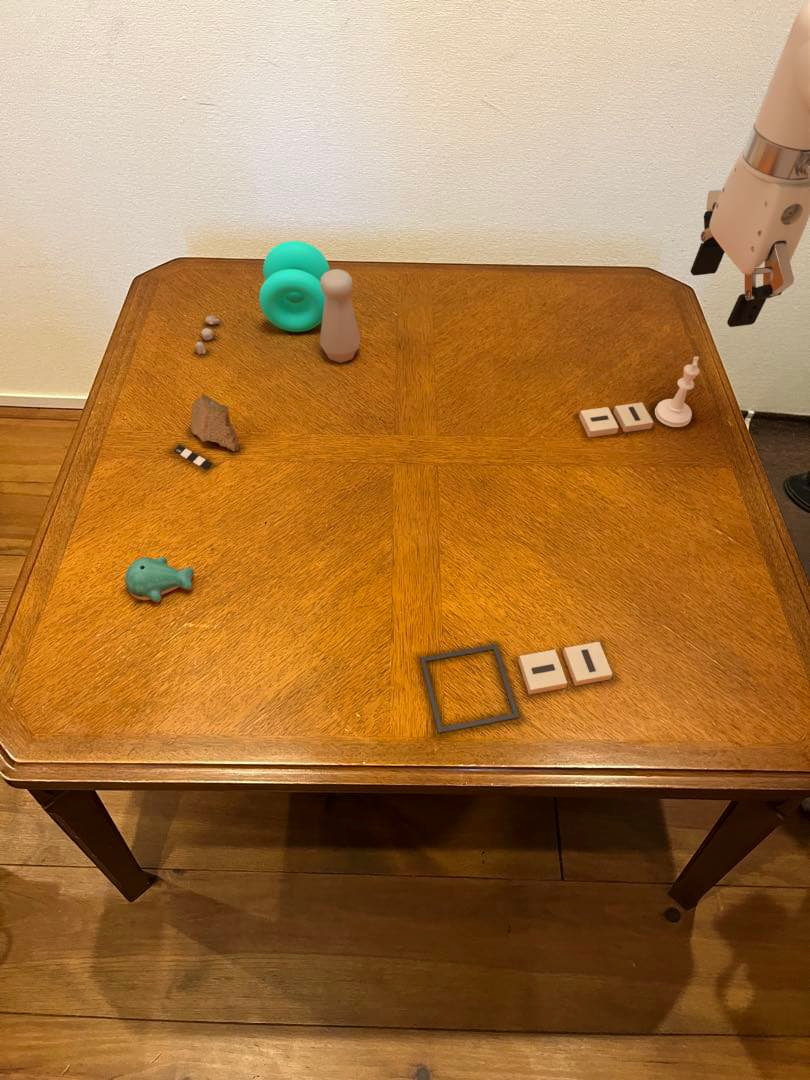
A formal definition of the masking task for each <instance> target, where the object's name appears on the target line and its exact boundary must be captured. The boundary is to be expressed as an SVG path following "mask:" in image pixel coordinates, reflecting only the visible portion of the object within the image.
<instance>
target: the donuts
mask: <svg viewBox="0 0 810 1080" xmlns="http://www.w3.org/2000/svg"><path fill="white" fill-rule="evenodd" d="M330 270H331V269H330V265H329V263H328V261H327V258H326V257H325V255H324V254H323V253H322V252H321V251H320V250H319V249H318V248H316V247H315V246H313V245H311V244H310V243H307V242H304V241H299V240H289V241H284V242H281V243H279V244H277V245H275V246H274V247H273V248H272V249H271V250H269V252H268V253H267V254H266V255H265V258H264V262H263V267H262V273H263V278H264V282H263V283H262V285H261V287H260V290H259V295H258V296H259V297H258V301H259V306H260V309H261V312H262V314H263V315H264V316H265V318H266V319H267V320H268V321H269V322H270V324H272V325H274V326H275V327H277V328H278V329H281V330H284V331H287V332H291V333H301V332H307V331H310V330H313V329H314V328H316V327H317V326H319V325H320V324H322V318H323V310H324V302H325V295H324V294H323V292H322V290H321V277H322V276H323V274H324V273H326V272H327V271H330Z"/></svg>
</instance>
